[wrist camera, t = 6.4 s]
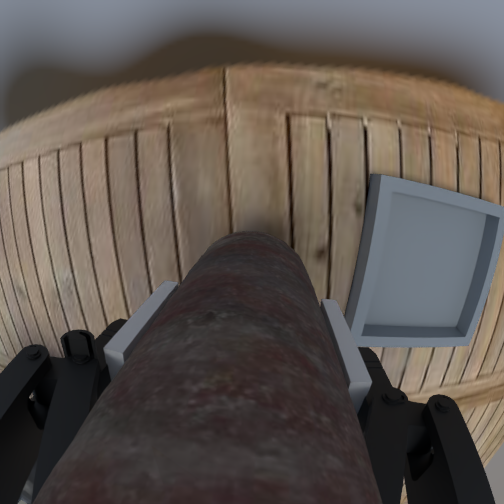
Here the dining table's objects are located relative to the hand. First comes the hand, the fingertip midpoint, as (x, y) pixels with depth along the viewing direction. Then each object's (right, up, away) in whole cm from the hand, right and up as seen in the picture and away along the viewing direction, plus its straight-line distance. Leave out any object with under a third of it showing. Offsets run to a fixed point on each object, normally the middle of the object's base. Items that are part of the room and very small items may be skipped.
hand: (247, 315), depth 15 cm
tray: (+18, +2, +11) cm, 22 cm away
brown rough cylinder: (0, +1, +5) cm, 5 cm away
